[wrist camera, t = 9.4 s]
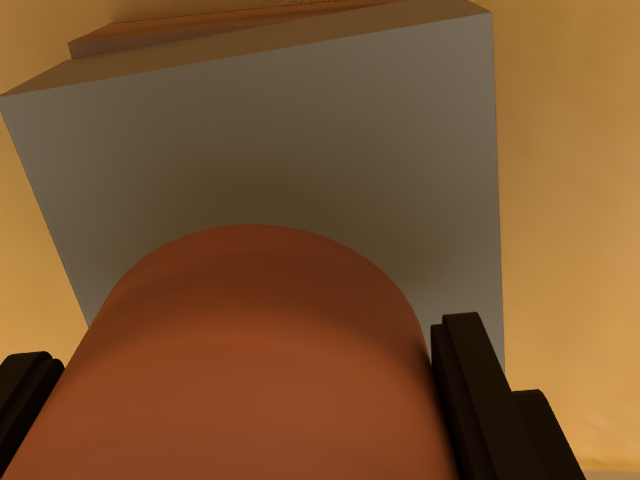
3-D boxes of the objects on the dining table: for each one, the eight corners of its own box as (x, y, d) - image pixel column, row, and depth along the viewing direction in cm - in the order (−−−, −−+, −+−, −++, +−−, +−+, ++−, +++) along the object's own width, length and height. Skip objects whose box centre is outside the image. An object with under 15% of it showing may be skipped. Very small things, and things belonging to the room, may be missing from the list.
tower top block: (66, 60, 16) (-6, 97, 12) (451, -8, 15) (492, 11, 12) (171, 363, 20) (140, 455, 17) (472, 321, 20) (506, 408, 16)
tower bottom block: (113, 22, 19) (67, 42, 16) (431, -11, 19) (457, 3, 15) (177, 291, 24) (152, 354, 20) (435, 269, 23) (455, 330, 20)
